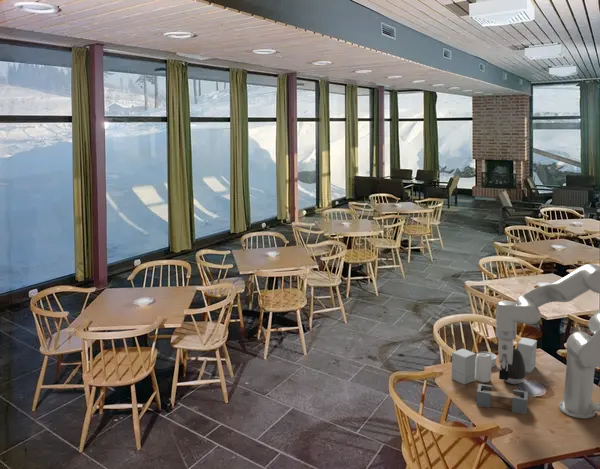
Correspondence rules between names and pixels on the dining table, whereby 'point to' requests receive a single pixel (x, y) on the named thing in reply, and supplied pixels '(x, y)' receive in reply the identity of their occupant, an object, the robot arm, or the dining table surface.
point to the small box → (528, 352)
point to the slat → (502, 399)
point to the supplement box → (463, 366)
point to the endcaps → (517, 405)
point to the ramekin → (493, 359)
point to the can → (483, 367)
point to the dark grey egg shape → (516, 368)
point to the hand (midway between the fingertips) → (504, 373)
